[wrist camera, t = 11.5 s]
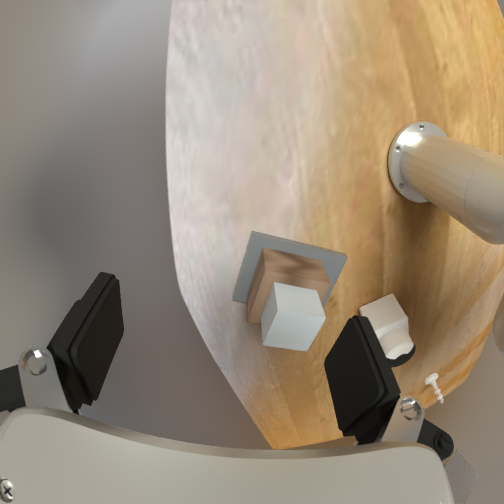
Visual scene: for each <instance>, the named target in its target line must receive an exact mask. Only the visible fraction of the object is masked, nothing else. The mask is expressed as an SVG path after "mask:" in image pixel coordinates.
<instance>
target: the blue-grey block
mask: <svg viewBox="0 0 504 504" xmlns="http://www.w3.org/2000/svg"><path fill="white" fill-rule="evenodd" d="M325 319H326V317H325V314H324V311H323V308H322V304H321V301H320V298H319V295H318V292H317V290H312V289H307V288H302V287H297V286H292V285H287V284H282V283H277V282H274V283H273V286H272V288H271V291H270V293H269V296H268V299H267V301H266V304H265V307H264V309H263V312H262V314H261V328H262V345H264V346H270V347H277V348H285V349H292V350H301V351H307V350H308V349H309V347H310V345H311V344H312V342H313V340H314V339H315V337H316V335H317V333H318V332H319V330H320V328H321V326H322V325H323V323H324V321H325Z"/></svg>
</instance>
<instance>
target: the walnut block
mask: <svg viewBox="0 0 504 504" xmlns="http://www.w3.org/2000/svg"><path fill="white" fill-rule="evenodd" d="M274 282H277V283H282V284H287V285H292V286H297V287H302V288H307V289H312V290H317V292H318V295H319V298H320V301H321V302H322V300H323V298H324V296H325V294H326V292H327V290H328V288H329V286H330V284H331V283H330V281H329V278H328V276H327V274H326V271H325V269H324V267H323V264H322V262H321V260H317V259H313V258H308V257H304V256H300V255H295V254H291V253H287V252H283V251H278V250H274V249H269V248H265V247H263V249H262V252H261V255H260V258H259V261H258V264H257V267H256V270H255V273H254V277H253V280H252V283H251V286H250V289H249V292H248V295H247V322H251V323H256V324H261V314H262V312H263V309H264V307H265V304H266V301H267V299H268V296H269V293H270V291H271V288H272V286H273V283H274Z"/></svg>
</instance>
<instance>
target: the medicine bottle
mask: <svg viewBox="0 0 504 504" xmlns="http://www.w3.org/2000/svg"><path fill="white" fill-rule="evenodd" d="M359 311H360V315H361V316H366V317H368V319H369V321H370V323H371V325H372V327H373V329H374V331H375V333H376V335H377V338H378V340H379V342H380V344H381V346H382V349H383V351H384V353H385V355H386V358H387V360H388V362H389V365H390V367H397V366H400V365H402V364H404V363H405V362H407V361H408V360H409V359H410V358H411V357H412V356H413V354H414V352H415V345H414V343H413V341H412V339H411V337H410V335H409V329H408V317H407V315H406V313H405V312H404V310H403V308H402V307H401V305H400V304H399V302H398V300H397V299H396V297H395V296H394V294H393V293H391V294H389V295H386V296H384V297H382V298H380V299H377V300H375V301H373V302H371V303H368V304H366V305H364V306H361V307H360V308H359Z"/></svg>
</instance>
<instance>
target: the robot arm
mask: <svg viewBox="0 0 504 504" xmlns="http://www.w3.org/2000/svg"><path fill="white" fill-rule="evenodd" d="M388 168H389V174H390V178H391V180H392V182H393V185H394V186H395V188H396V189H397V191H398V192H399V193H400V194H401V195H403V196H404V197H405V198H407V199H408V200H411V201H413V202H418V203H424V202H428V201H430V202H431V203H433V204H434V205H436V206H437V207H439V208H440V209H442V210H443V211H445V212H446V213H448V214H449V215H450V216H452V217H453V218H455V219H456V220H457V221H459V222H460V223H461V224H463V225H464V226H465V227H467V228H468V229H469V230H471V231H472V232H473V233H475V234H476V235H477V236H478V237H480V238H481V239H483V240H484V241H486V242H488V243H491V244H504V156H501V155H499V154H496V153H493V152H491V151H488V150H485V149H482V148H479V147H477V146H474V145H470V144H467V143H464V142H461V141H458V140H454V139H451V138H448V137H447V136H446V134H445V133H444V132H443V131H442V130H441V129H440V128H439V127H438V126H436V125H434V124H432V123H428V122H423V121H417V122H412V123H410V124H407V125H406V126H404V127H403V128H402V129H401V130H400V131H399V132H398V133H397V134H396V136H395V138H394V139H393V141H392V144H391V147H390V150H389V155H388ZM399 184H400V185H399ZM123 332H124V325H123V317H122V308H121V298H120V286H119V280H118V279H116V277H115V275H113V274H109V273H104V272H100V273H99V275H98V276H97V277H96V279H95V280H94V282H93V283H92V284H91V286H90V287H89V289H88V290H87V291H86V293H85V294H84V296H83V297H82V299H81V300H78V301H76V302H75V303H74V305H73V307H72V308H71V309H70V311H69V312H68V314H67V315H66V317H65V319H64V320H63V322H62V323H61V325H60V326H59V328H58V330H57V331H56V333H55V334H54V336H53V338H52V339H51V341H50V343H49V345H48V346H47V348H44V347H42V346H32V347H29V348H27V349H26V350H24V351H23V352H22V354H21V355H20V357H19V360H18V365H16V366H12V367H9V368H6V369H3V370H0V504H465V503H466V501H467V499H468V498H469V496H470V495H471V493H472V491H473V490H474V488H475V486H476V484H477V479H478V477H477V473H476V472H475V470H474V469H473V468H472V467H471V466H470V464H469V463H468V462H467V461H466V460H465V459H464V458H463V457H462V455H461V454H460V453H459V452H458V451H457V450H455V451H453V448H454V444H453V440H452V438H451V437H450V435H449V434H447V433H446V432H445V431H443V430H441V429H440V428H438V427H437V426H435V425H434V424H432V423H430V422H429V421H427V420H426V419H424V408H423V406H422V404H421V403H420V402H419V400H417V399H416V398H415V397H412V396H407V395H406V396H402V397H401V398H400V395H399V394H400V393H401V391H400V388H399V386H398V384H397V381H396V379H395V376H394V374H393V372H392V369H391V367H390V365H389V362H388V360H387V358H386V355H385V353H384V351H383V349H382V346H381V344H380V342H379V340H378V338H377V335H376V333H375V331H374V329H373V327H372V325H371V323H370V321H369V319H368V317H366V316H357V315H355V316H353V317H352V318H350V319H349V320H348V321H347V323H346V325H345V326H344V328H343V330H342V332H341V333H340V335H339V337H338V339H337V340H336V342H335V344H334V345H333V347H332V349H331V350H330V352H329V354H328V355H327V357H326V359H325V362H324V367H325V371H326V375H327V379H328V383H329V388H330V392H331V396H332V400H333V405H334V409H335V414H336V418H337V423H338V427H339V429H340V430H341V431H342V433H343V437H345V436H354V435H355V437H356V441H355V442H354V444H353V446H347V447H338V448H326V449H311V450H252V449H236V448H225V447H215V446H207V445H200V444H192V443H186V442H181V441H175V440H170V439H164V438H159V437H155V436H151V435H147V434H142V433H138V432H135V431H131V430H127V429H123V428H119V427H116V426H112V425H109V424H106V423H103V422H100V421H97V420H94V419H90V418H87V417H84V416H82V415H81V413H80V411H79V409H80V408H81V405H82V403H84V404H87V405H89V406H91V404H92V402H93V400H95V401H96V400H97V399H98V396H99V394H100V391H101V388H102V386H103V383H104V380H105V378H106V375H107V373H108V370H109V368H110V365H111V362H112V360H113V357H114V355H115V353H116V350H117V348H118V345H119V343H120V341H121V338H122V336H123ZM493 337H494V340H495V343H496V345H497V347H498V349H499V350H500V352H501V353H502V354H503V356H504V292H503V295H502V298H501V300H500V302H499V305H498V307H497V310H496V313H495V316H494V320H493Z"/></svg>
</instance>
